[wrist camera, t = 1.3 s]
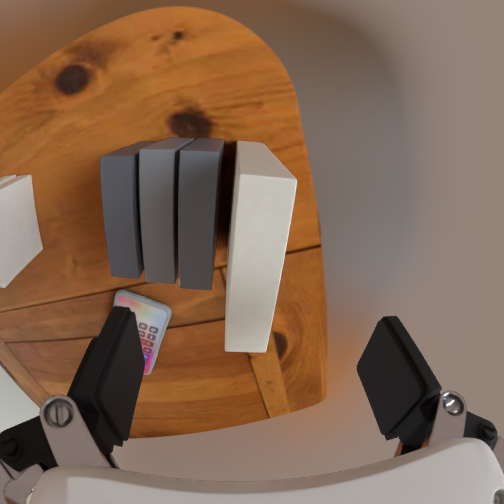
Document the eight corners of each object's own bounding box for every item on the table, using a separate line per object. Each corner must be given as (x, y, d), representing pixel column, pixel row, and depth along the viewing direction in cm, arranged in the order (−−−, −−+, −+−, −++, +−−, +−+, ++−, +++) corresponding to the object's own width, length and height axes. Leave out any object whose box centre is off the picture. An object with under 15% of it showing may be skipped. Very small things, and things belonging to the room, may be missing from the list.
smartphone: (173, 310, 31) (150, 377, 37) (174, 305, 32) (151, 372, 38) (115, 289, 29) (104, 361, 35) (117, 284, 30) (106, 357, 36)
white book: (236, 140, 24) (238, 173, 11) (263, 142, 24) (298, 179, 11) (228, 239, 29) (224, 351, 15) (251, 240, 29) (266, 353, 16)
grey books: (140, 137, 23) (98, 151, 15) (224, 139, 24) (219, 152, 16) (142, 233, 28) (111, 281, 20) (217, 238, 29) (211, 290, 21)
